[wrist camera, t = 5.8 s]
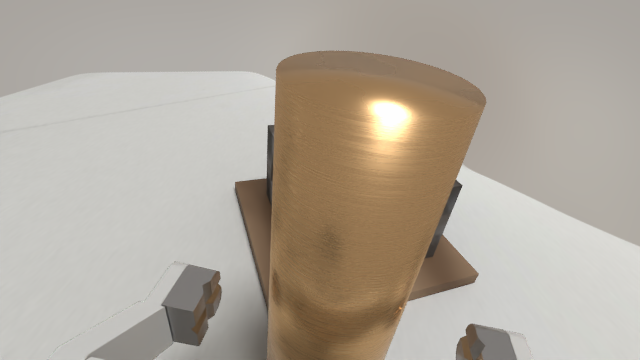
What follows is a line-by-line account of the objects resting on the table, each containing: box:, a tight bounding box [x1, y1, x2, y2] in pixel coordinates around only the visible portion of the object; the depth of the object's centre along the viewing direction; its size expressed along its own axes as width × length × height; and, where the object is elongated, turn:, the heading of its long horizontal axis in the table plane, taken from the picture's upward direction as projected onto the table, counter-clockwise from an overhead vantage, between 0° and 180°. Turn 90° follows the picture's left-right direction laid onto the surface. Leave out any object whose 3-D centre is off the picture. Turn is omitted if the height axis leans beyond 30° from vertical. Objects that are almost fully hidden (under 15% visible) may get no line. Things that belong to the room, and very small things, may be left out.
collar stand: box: [235, 125, 478, 309], centre depth 28 cm, size 16×16×8 cm
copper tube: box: [267, 51, 486, 360], centre depth 12 cm, size 4×4×18 cm
